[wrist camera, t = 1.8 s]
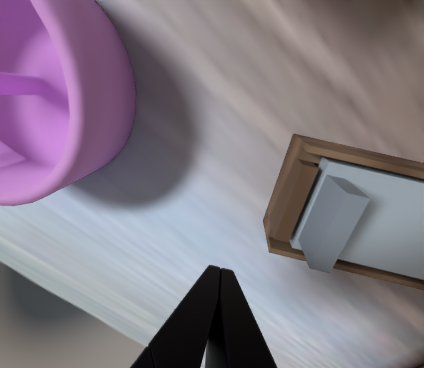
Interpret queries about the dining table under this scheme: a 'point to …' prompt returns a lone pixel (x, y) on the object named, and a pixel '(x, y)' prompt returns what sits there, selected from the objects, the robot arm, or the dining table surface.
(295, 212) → the case
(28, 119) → the container set
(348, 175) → the lid
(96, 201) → the dining table surface
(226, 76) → the dining table surface
